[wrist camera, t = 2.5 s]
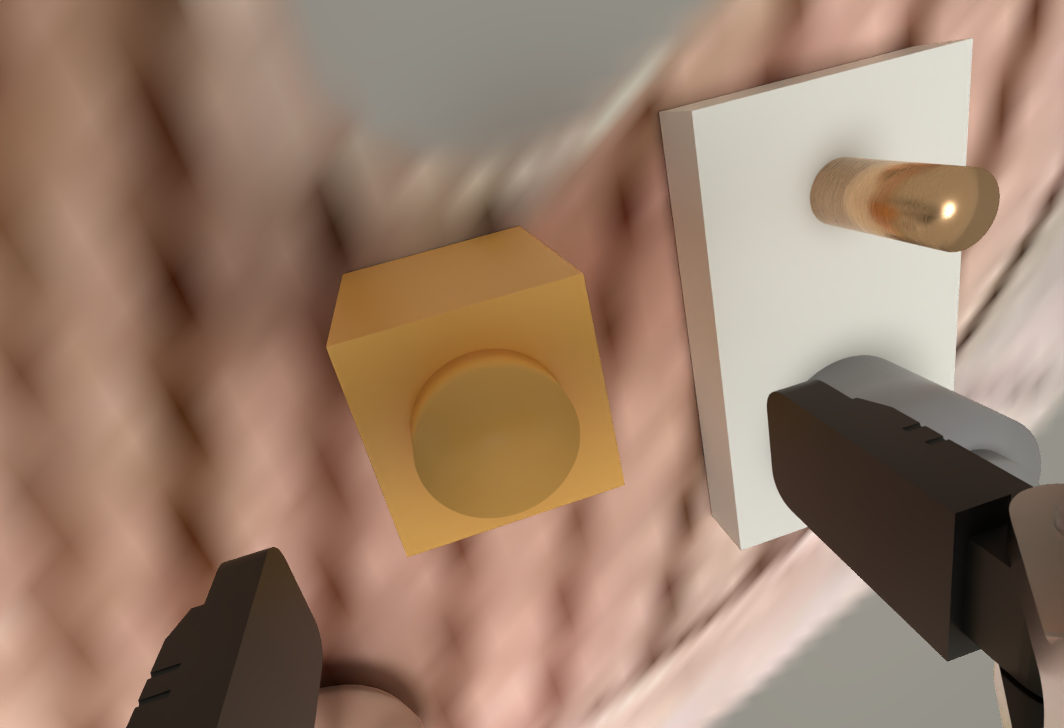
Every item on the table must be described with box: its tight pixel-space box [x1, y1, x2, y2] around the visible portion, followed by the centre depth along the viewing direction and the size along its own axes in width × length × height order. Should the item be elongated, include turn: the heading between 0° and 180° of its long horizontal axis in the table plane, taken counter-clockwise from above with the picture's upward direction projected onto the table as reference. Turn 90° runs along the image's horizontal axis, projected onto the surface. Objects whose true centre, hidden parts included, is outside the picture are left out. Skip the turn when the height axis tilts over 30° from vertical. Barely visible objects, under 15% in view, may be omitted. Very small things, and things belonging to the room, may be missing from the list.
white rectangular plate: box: [659, 38, 973, 550], centre depth 20 cm, size 8×14×2 cm, turn 13°
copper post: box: [810, 157, 1000, 252], centre depth 15 cm, size 2×2×4 cm
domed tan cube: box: [326, 226, 625, 557], centre depth 15 cm, size 5×5×7 cm
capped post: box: [808, 355, 1041, 487], centre depth 18 cm, size 5×5×5 cm
